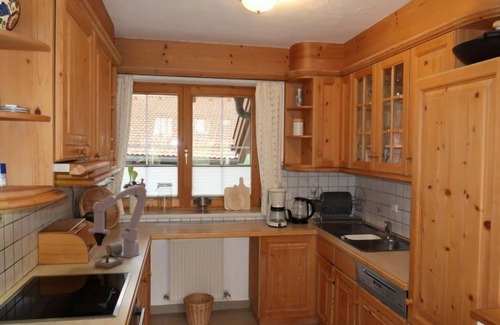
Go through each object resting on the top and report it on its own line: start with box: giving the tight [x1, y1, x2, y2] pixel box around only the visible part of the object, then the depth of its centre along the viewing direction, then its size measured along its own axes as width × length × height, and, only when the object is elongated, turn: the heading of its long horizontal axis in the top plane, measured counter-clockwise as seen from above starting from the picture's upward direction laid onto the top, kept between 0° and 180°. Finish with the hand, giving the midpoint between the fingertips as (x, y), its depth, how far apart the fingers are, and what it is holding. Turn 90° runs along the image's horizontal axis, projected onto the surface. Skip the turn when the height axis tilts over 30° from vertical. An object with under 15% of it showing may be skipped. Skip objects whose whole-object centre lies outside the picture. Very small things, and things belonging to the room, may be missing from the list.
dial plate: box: [94, 256, 123, 270], centre depth 215 cm, size 10×11×3 cm
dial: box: [101, 254, 116, 263], centre depth 215 cm, size 8×8×5 cm
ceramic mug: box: [105, 241, 123, 258], centre depth 236 cm, size 11×8×8 cm
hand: (99, 245), depth 222 cm, fingers closed
